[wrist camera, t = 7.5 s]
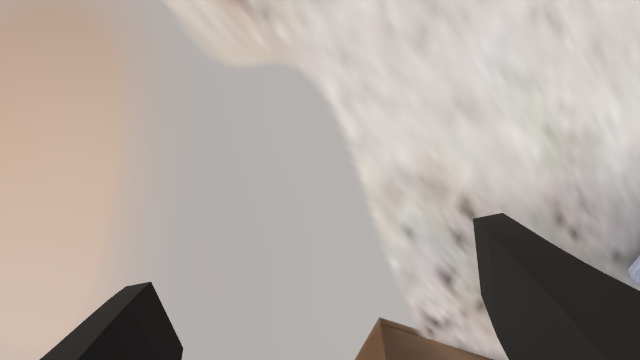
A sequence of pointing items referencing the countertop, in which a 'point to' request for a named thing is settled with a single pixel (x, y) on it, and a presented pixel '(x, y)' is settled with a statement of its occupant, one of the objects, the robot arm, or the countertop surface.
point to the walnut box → (407, 345)
